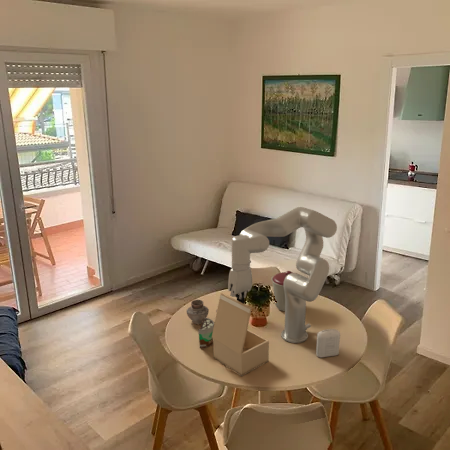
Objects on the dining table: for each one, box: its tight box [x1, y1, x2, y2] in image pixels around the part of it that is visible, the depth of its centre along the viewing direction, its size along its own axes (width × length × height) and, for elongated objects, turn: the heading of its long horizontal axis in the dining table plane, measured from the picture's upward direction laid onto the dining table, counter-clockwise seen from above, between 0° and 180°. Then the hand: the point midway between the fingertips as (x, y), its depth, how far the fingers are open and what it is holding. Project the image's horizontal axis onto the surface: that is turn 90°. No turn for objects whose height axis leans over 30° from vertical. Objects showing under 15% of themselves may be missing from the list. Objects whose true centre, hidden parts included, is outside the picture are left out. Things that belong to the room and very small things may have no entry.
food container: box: [198, 317, 215, 349], centre depth 216 cm, size 12×6×10 cm, turn 168°
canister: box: [271, 270, 301, 312], centre depth 247 cm, size 18×18×21 cm
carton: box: [212, 328, 270, 377], centre depth 203 cm, size 16×18×10 cm
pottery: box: [186, 299, 217, 325], centre depth 235 cm, size 11×25×12 cm, turn 87°
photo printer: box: [315, 328, 341, 358], centre depth 205 cm, size 10×4×12 cm, turn 103°
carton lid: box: [212, 292, 253, 355], centre depth 195 cm, size 20×18×1 cm
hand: (240, 306), depth 196 cm, fingers closed
